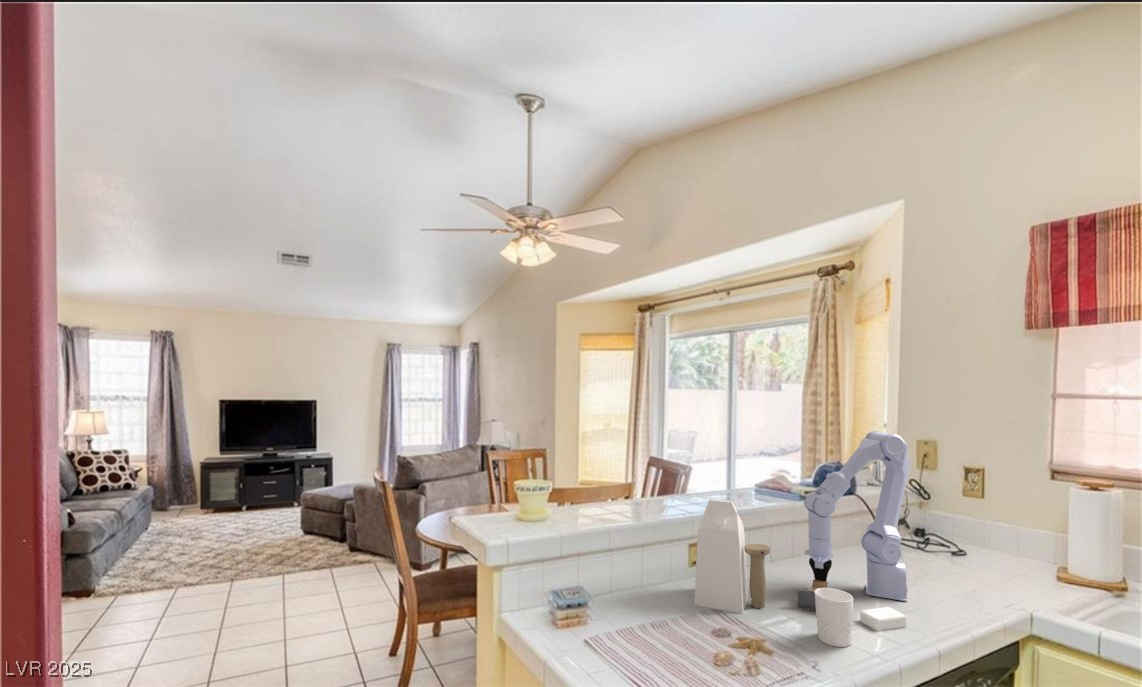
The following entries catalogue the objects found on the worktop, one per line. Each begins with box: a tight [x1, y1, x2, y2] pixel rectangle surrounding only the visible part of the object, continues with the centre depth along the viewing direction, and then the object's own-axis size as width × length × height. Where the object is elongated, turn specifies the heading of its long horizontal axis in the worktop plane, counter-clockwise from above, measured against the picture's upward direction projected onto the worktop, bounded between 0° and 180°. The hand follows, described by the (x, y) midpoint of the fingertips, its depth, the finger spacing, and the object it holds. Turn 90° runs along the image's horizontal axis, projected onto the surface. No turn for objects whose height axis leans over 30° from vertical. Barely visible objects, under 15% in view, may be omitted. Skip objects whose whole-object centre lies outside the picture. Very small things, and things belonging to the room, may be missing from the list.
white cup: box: [815, 587, 854, 648], centre depth 119 cm, size 8×8×10 cm
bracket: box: [797, 587, 816, 612], centre depth 136 cm, size 6×10×4 cm
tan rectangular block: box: [810, 578, 829, 592], centre depth 140 cm, size 10×4×4 cm, turn 152°
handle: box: [744, 543, 771, 609], centre depth 136 cm, size 5×6×15 cm
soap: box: [859, 606, 907, 632], centre depth 127 cm, size 9×6×3 cm, turn 105°
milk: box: [694, 498, 749, 615], centre depth 140 cm, size 12×12×26 cm
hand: (820, 587), depth 145 cm, fingers closed
